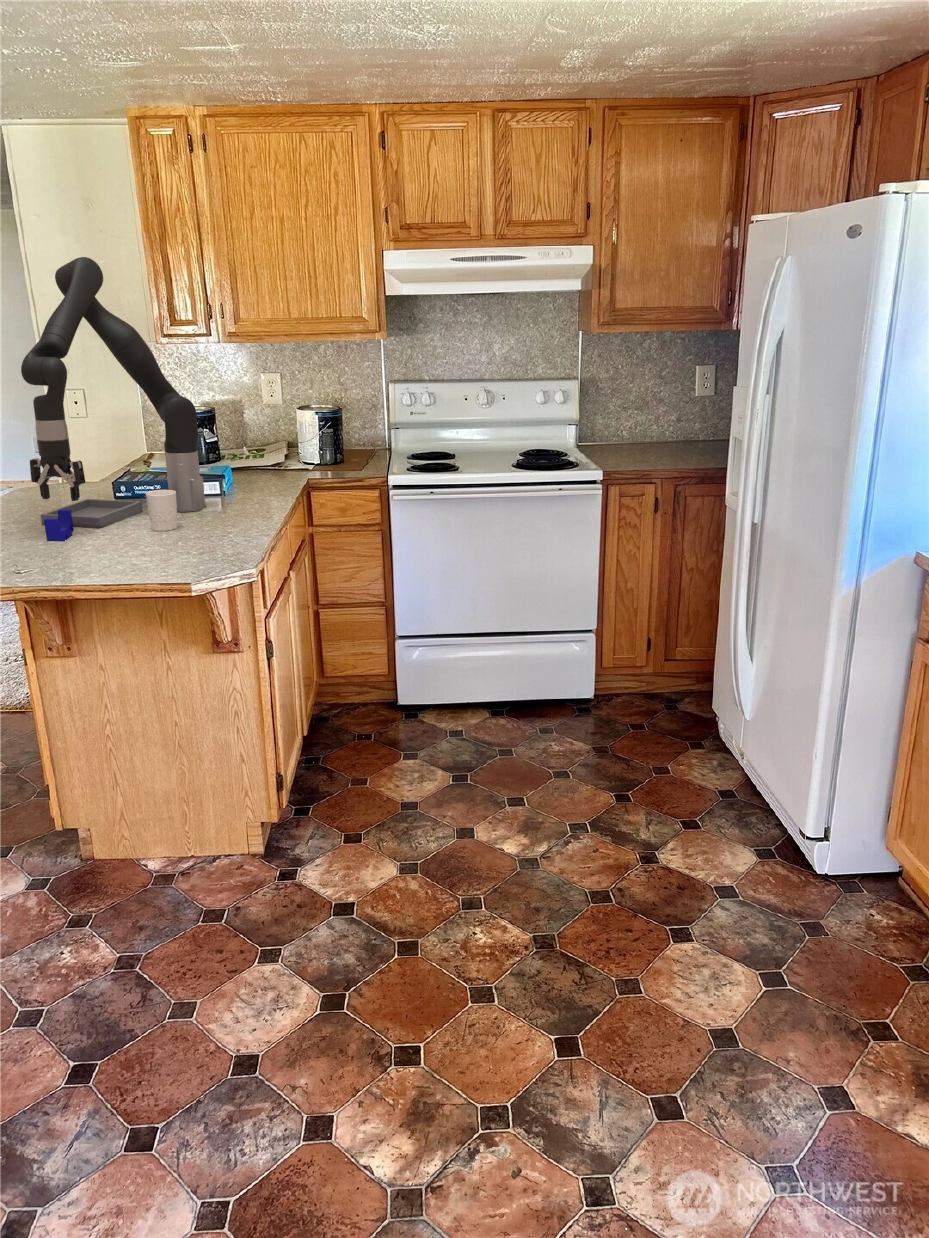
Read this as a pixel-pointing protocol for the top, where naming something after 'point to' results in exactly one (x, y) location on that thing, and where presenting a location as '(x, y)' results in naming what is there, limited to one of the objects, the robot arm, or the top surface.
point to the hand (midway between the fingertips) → (60, 499)
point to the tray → (97, 512)
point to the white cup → (162, 509)
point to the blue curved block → (59, 526)
